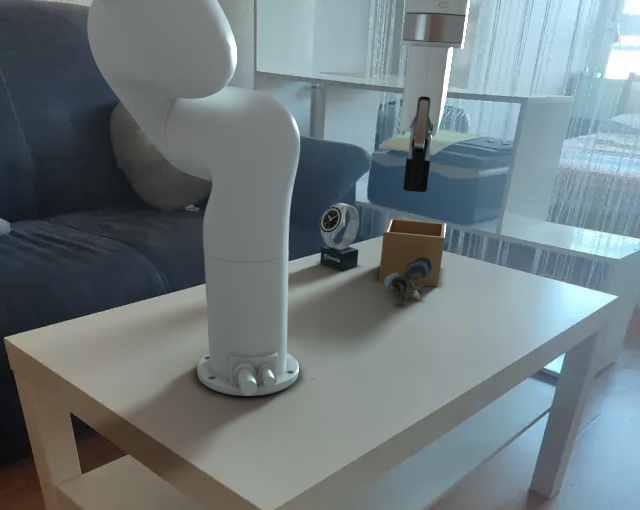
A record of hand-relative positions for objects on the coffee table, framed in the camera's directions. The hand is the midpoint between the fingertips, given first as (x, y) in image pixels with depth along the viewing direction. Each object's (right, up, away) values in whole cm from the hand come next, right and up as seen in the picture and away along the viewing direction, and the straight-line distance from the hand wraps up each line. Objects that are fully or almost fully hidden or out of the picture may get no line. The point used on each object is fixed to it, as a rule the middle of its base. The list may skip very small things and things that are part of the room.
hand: (415, 190), depth 87 cm
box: (+3, -5, +29) cm, 30 cm away
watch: (-10, -2, +32) cm, 34 cm away
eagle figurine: (+1, -11, +19) cm, 22 cm away
